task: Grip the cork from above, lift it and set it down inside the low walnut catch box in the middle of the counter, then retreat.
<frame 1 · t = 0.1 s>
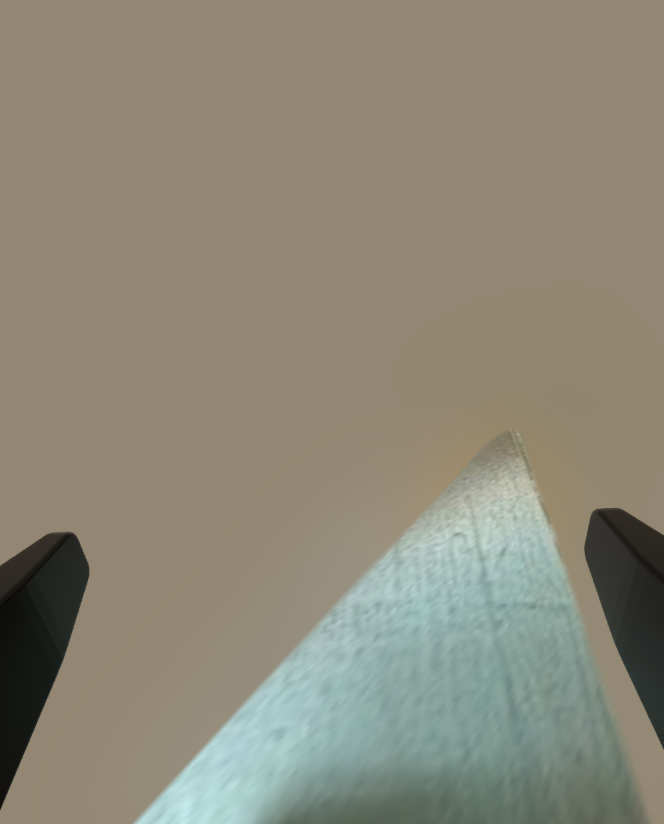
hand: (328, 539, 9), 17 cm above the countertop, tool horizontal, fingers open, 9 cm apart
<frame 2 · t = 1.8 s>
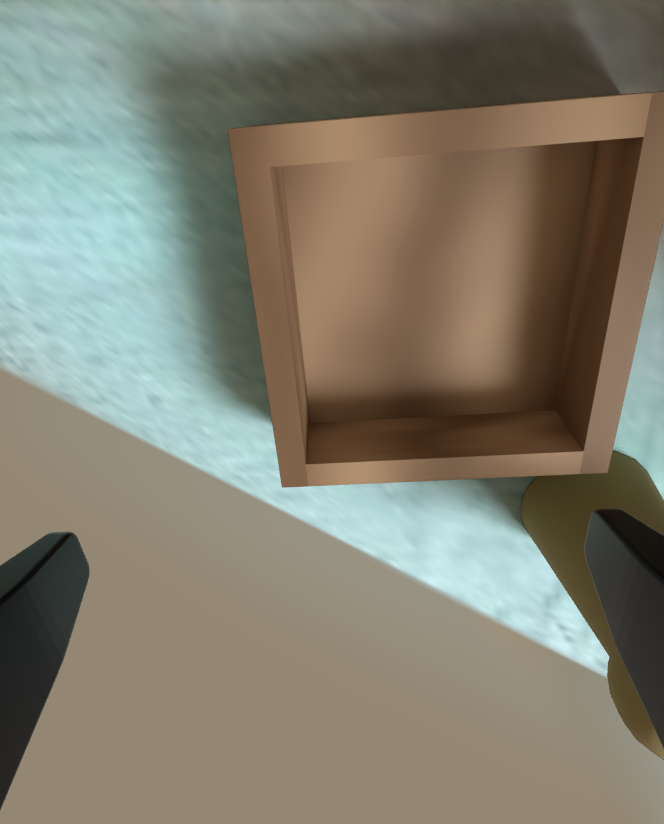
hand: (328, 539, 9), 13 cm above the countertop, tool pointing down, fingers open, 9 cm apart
cork: (583, 500, 25), on the countertop
catch box: (429, 290, 20), on the countertop
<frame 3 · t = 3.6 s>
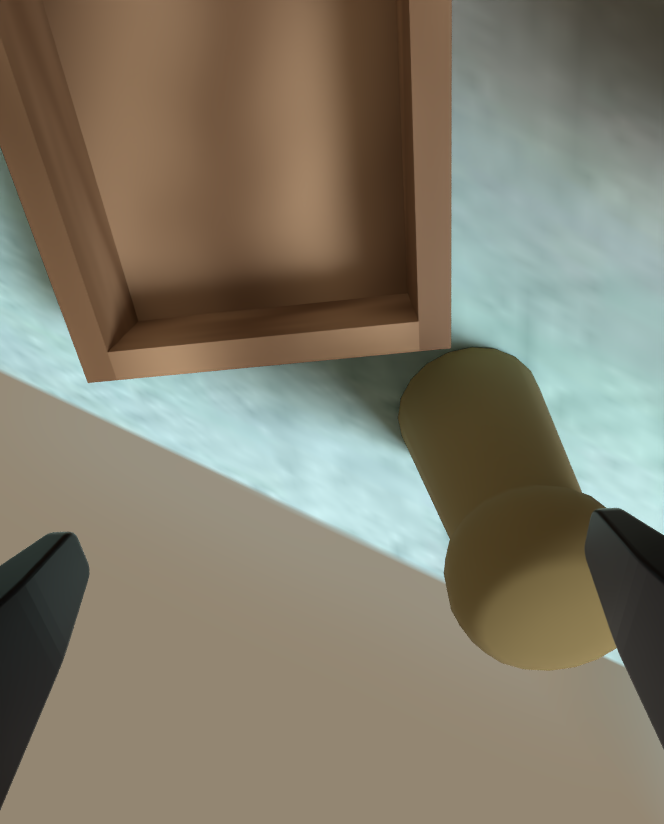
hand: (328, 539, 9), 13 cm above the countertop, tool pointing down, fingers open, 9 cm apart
cork: (467, 410, 23), on the countertop
catch box: (249, 154, 18), on the countertop
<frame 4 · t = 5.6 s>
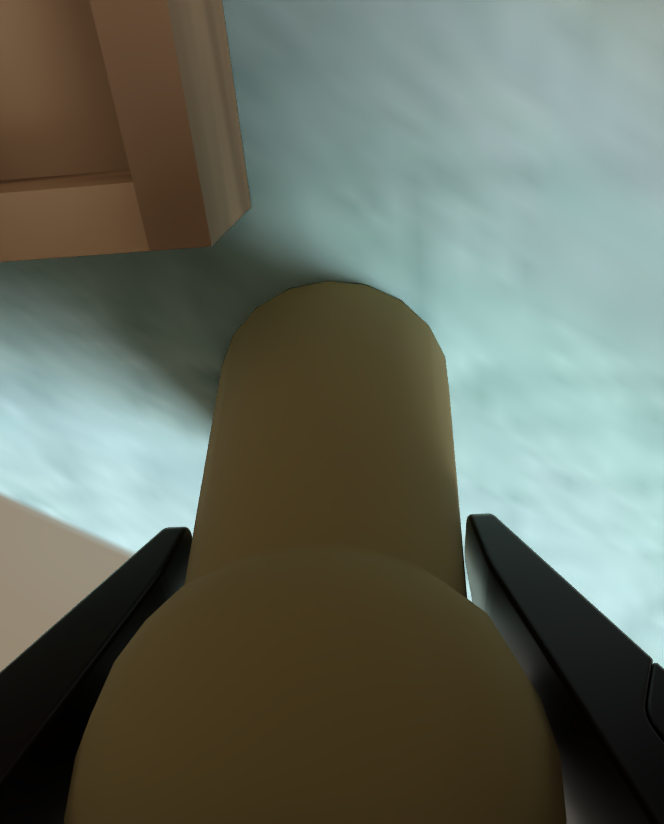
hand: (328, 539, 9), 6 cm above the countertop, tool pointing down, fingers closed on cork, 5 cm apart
cork: (334, 390, 14), on the countertop, touching gripper
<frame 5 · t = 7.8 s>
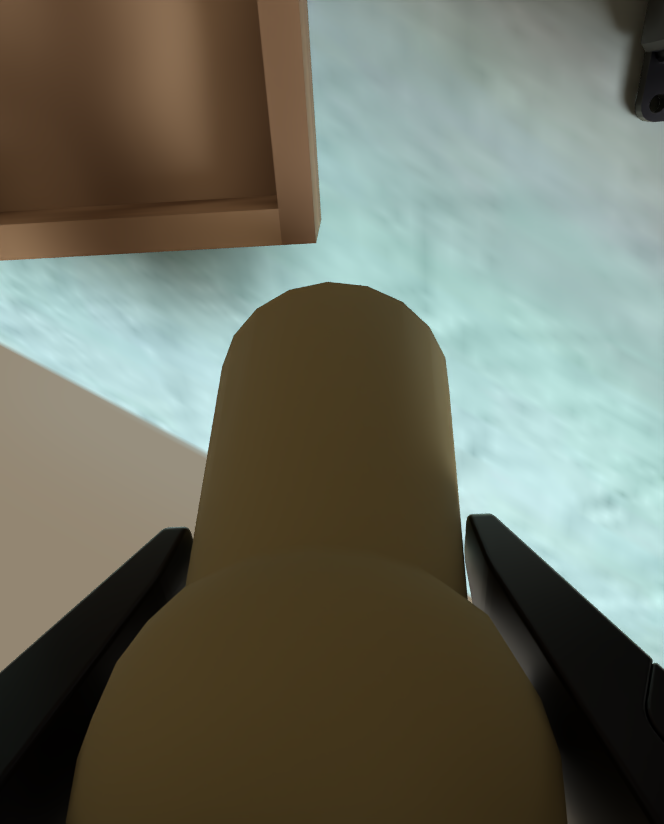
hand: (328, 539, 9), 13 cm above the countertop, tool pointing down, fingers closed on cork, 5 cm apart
cork: (334, 391, 14), point 7 cm above the countertop, touching gripper
catch box: (113, 26, 16), on the countertop
when the fingers open (8 cm above the countertop, at t = 10.3 s): cork drops 1 cm, resting on catch box.
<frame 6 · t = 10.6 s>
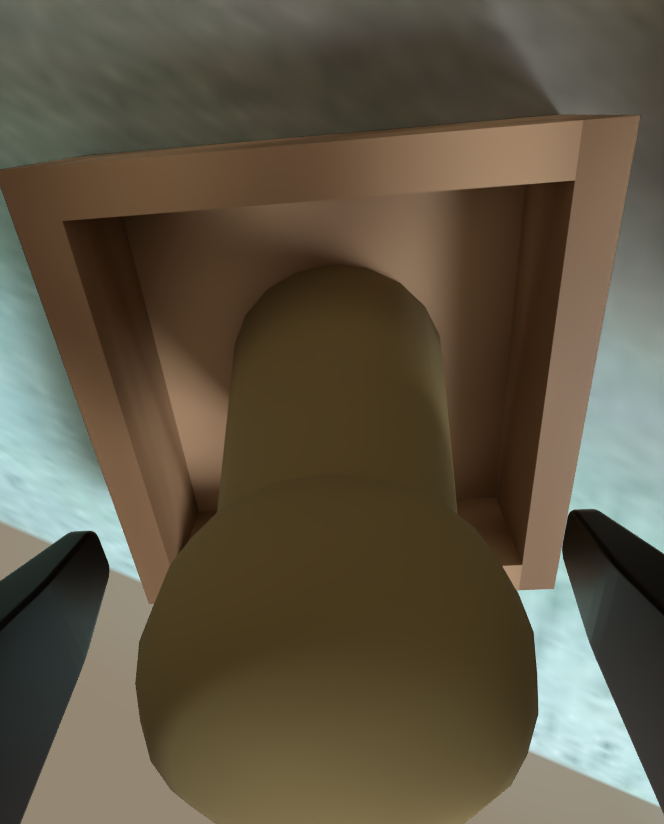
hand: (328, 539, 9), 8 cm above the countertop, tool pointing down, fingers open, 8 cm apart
cork: (337, 366, 15), point 1 cm above the countertop, touching catch box
catch box: (334, 355, 16), on the countertop
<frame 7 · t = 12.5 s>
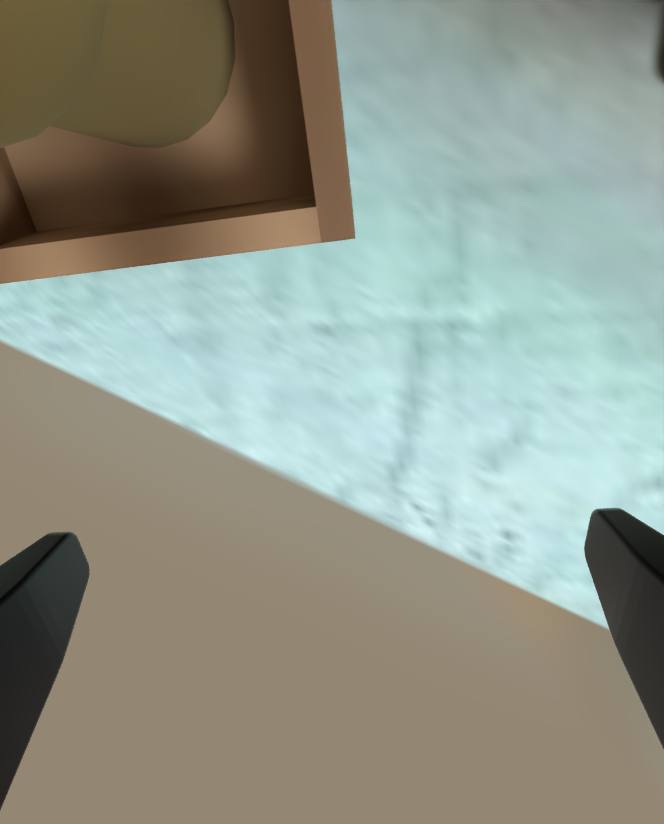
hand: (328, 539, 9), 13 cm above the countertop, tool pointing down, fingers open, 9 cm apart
cork: (135, 35, 16), point 1 cm above the countertop, touching catch box
catch box: (140, 39, 16), on the countertop
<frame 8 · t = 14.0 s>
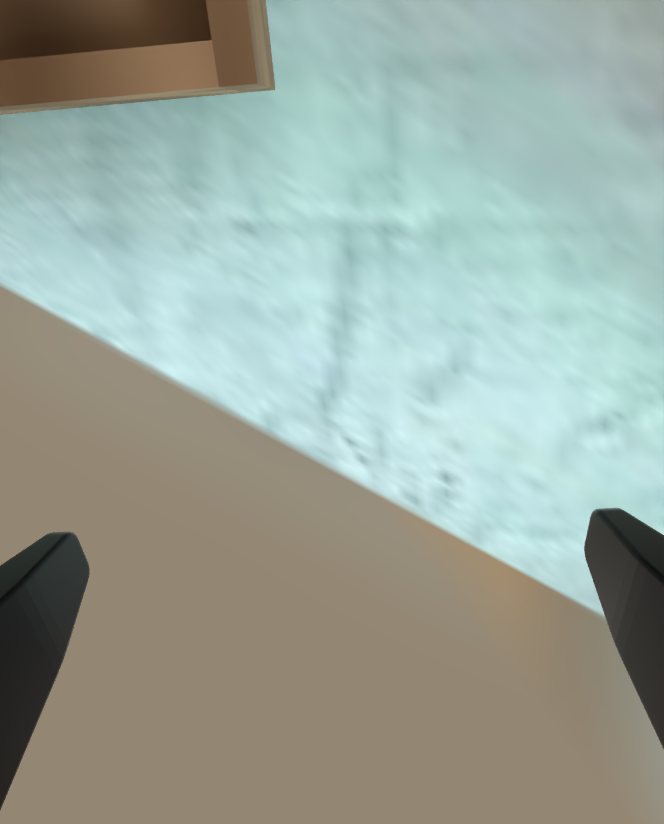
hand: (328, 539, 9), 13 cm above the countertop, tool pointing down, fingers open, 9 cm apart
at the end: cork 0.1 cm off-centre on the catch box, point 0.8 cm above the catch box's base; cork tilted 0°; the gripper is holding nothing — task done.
